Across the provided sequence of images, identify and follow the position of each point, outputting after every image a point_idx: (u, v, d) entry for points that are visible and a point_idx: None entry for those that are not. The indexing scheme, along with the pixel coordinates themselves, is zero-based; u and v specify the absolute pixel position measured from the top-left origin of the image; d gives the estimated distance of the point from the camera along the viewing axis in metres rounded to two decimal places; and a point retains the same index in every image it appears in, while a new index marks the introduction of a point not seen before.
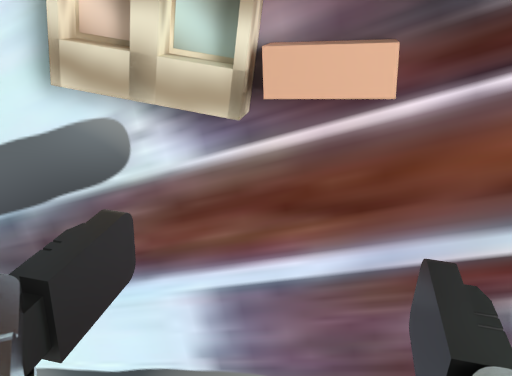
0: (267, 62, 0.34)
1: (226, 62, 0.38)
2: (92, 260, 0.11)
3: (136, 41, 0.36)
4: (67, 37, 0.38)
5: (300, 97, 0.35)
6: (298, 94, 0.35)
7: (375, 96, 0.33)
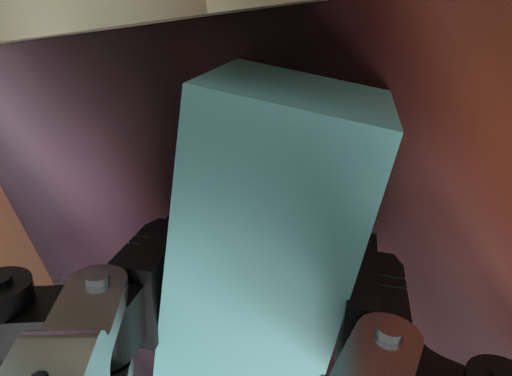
0: None
1: None
2: None
3: None
4: None
5: None
6: None
7: None
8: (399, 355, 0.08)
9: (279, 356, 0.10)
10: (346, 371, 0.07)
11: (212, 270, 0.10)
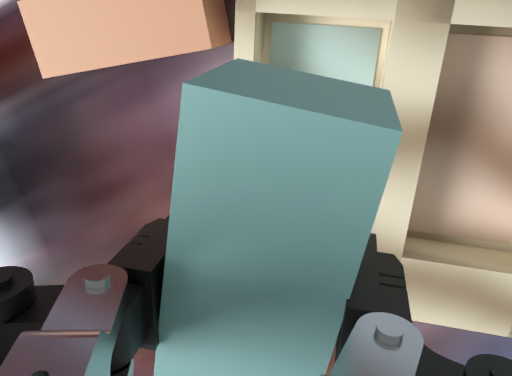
0: (199, 24, 0.22)
1: (288, 13, 0.23)
2: None
3: (432, 43, 0.20)
4: None
5: None
6: None
7: None
8: (399, 355, 0.08)
9: (280, 355, 0.10)
10: (346, 371, 0.07)
11: (211, 269, 0.10)
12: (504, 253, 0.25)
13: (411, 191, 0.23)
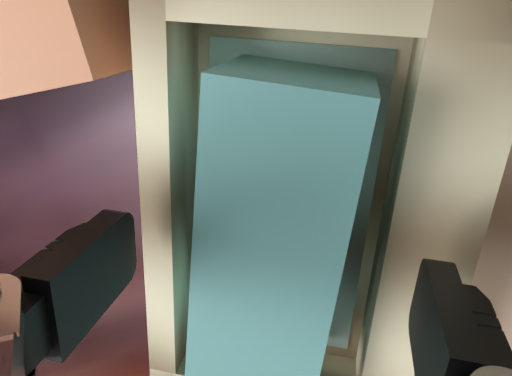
0: (66, 37, 0.12)
1: None
2: (93, 259, 0.11)
3: (501, 83, 0.10)
4: None
5: None
6: None
7: None
8: None
9: (294, 300, 0.12)
10: None
11: (232, 229, 0.11)
12: None
13: None
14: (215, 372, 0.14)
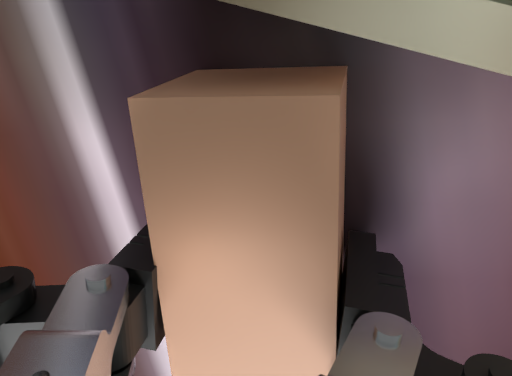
0: (271, 117, 0.08)
1: None
2: None
3: None
4: None
5: (153, 234, 0.10)
6: (163, 227, 0.09)
7: None
8: (398, 355, 0.08)
9: None
10: (345, 370, 0.07)
11: None
12: None
13: None
14: None
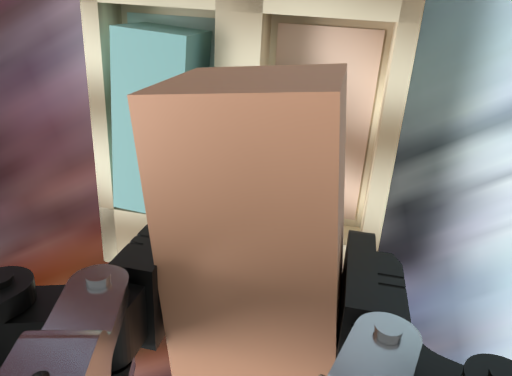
0: (271, 114, 0.08)
1: (139, 4, 0.25)
2: None
3: (249, 31, 0.22)
4: (396, 23, 0.22)
5: (153, 231, 0.10)
6: (162, 225, 0.09)
7: None
8: (398, 355, 0.08)
9: None
10: (345, 371, 0.07)
11: None
12: (350, 228, 0.27)
13: None
14: (128, 191, 0.25)
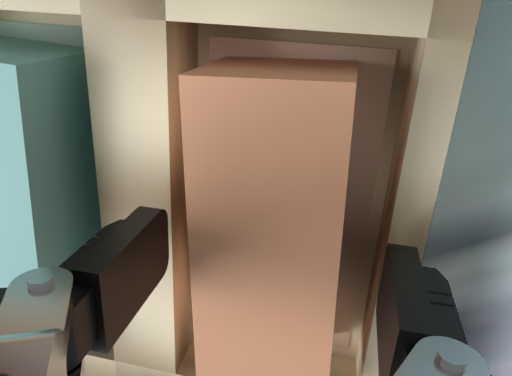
0: (299, 98, 0.10)
1: None
2: (133, 254, 0.11)
3: (145, 54, 0.12)
4: (419, 38, 0.11)
5: (189, 192, 0.11)
6: (197, 187, 0.11)
7: (200, 364, 0.13)
8: None
9: (5, 249, 0.13)
10: None
11: None
12: (339, 362, 0.17)
13: (167, 283, 0.15)
14: None
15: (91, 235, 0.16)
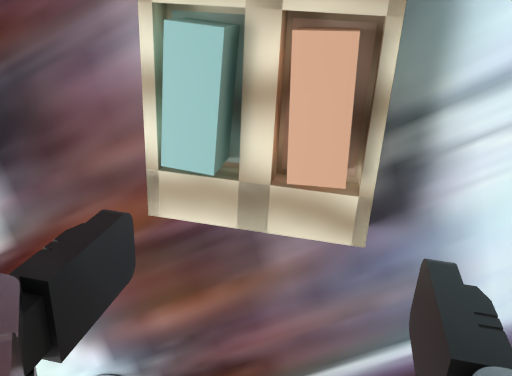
0: (338, 37, 0.27)
1: (182, 4, 0.32)
2: (92, 260, 0.11)
3: (272, 24, 0.29)
4: (385, 17, 0.28)
5: (292, 79, 0.28)
6: (296, 76, 0.28)
7: (289, 164, 0.30)
8: None
9: (202, 112, 0.30)
10: None
11: (177, 82, 0.30)
12: (350, 184, 0.34)
13: (271, 133, 0.31)
14: (174, 152, 0.32)
15: (228, 117, 0.33)
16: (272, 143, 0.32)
